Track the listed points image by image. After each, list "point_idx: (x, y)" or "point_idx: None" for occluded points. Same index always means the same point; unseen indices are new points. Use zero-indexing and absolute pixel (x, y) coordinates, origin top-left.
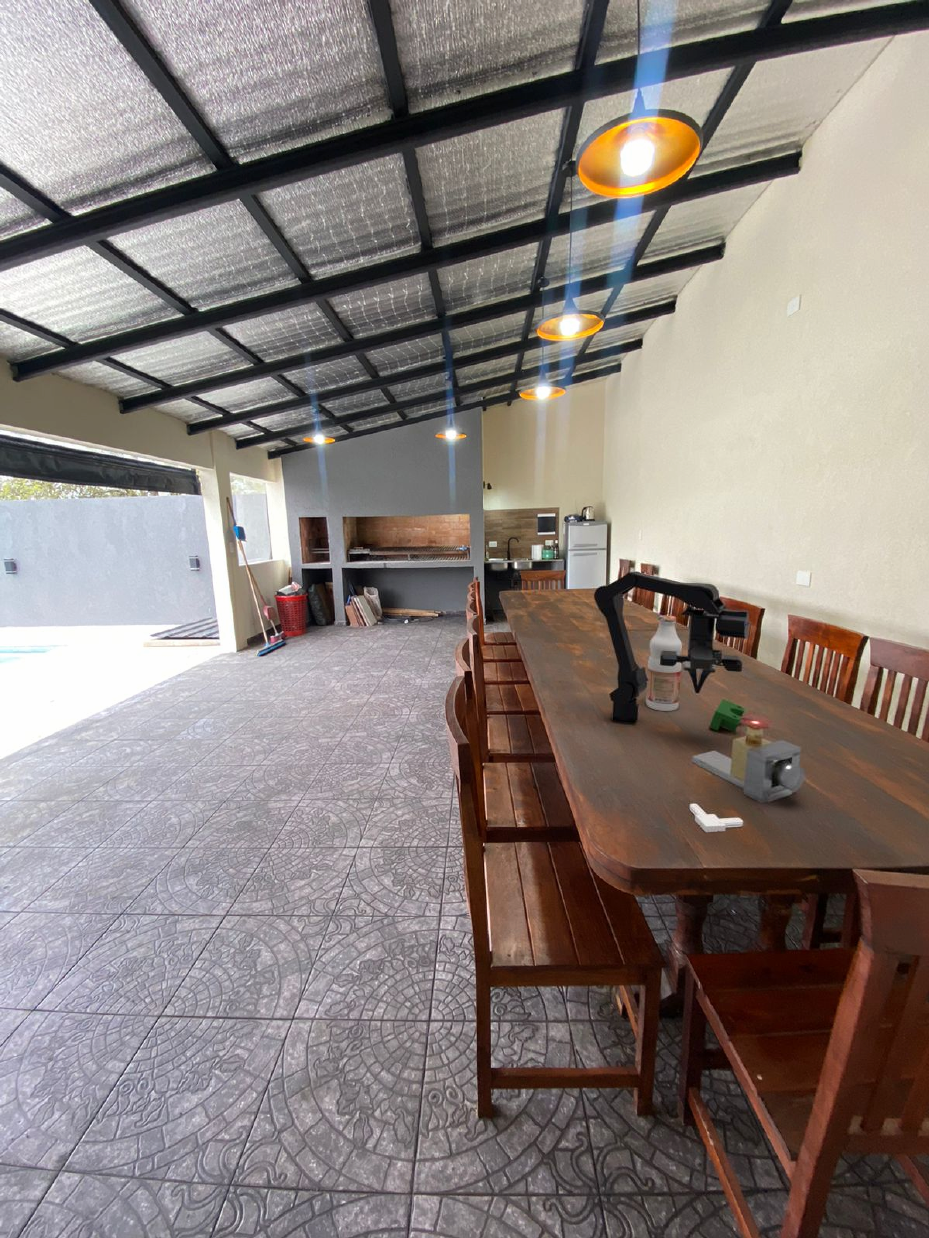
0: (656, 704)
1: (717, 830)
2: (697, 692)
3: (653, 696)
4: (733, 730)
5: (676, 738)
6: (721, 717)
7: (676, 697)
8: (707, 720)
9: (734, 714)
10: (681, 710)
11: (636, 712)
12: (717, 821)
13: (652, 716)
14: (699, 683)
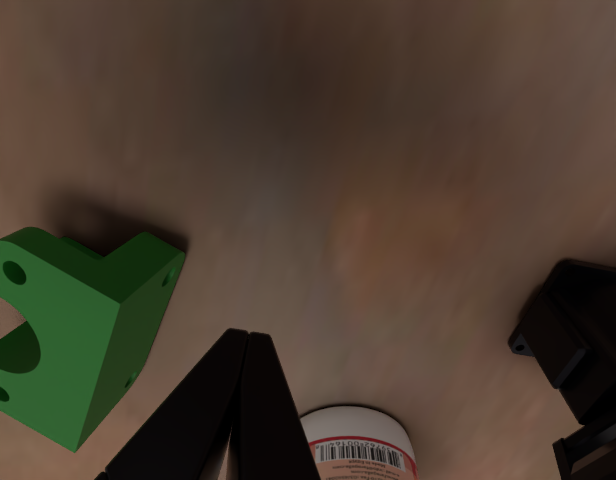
0: (388, 434)
1: None
2: (245, 334)
3: (406, 475)
4: (69, 242)
5: (397, 103)
6: (98, 267)
7: None
8: (182, 340)
9: (17, 301)
10: None
11: (570, 323)
12: None
13: (423, 355)
14: (197, 451)
